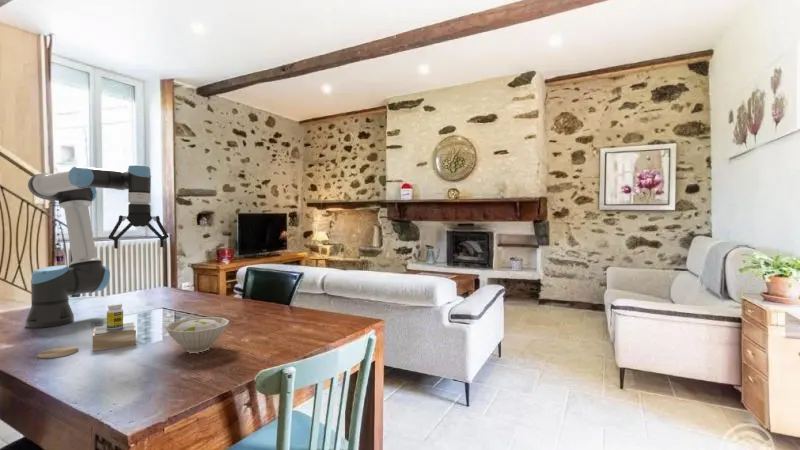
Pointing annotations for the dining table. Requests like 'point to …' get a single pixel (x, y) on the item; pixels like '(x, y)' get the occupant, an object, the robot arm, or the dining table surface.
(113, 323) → the supplement bottle
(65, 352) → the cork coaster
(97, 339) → the beech block
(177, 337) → the bowl
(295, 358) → the dining table surface
